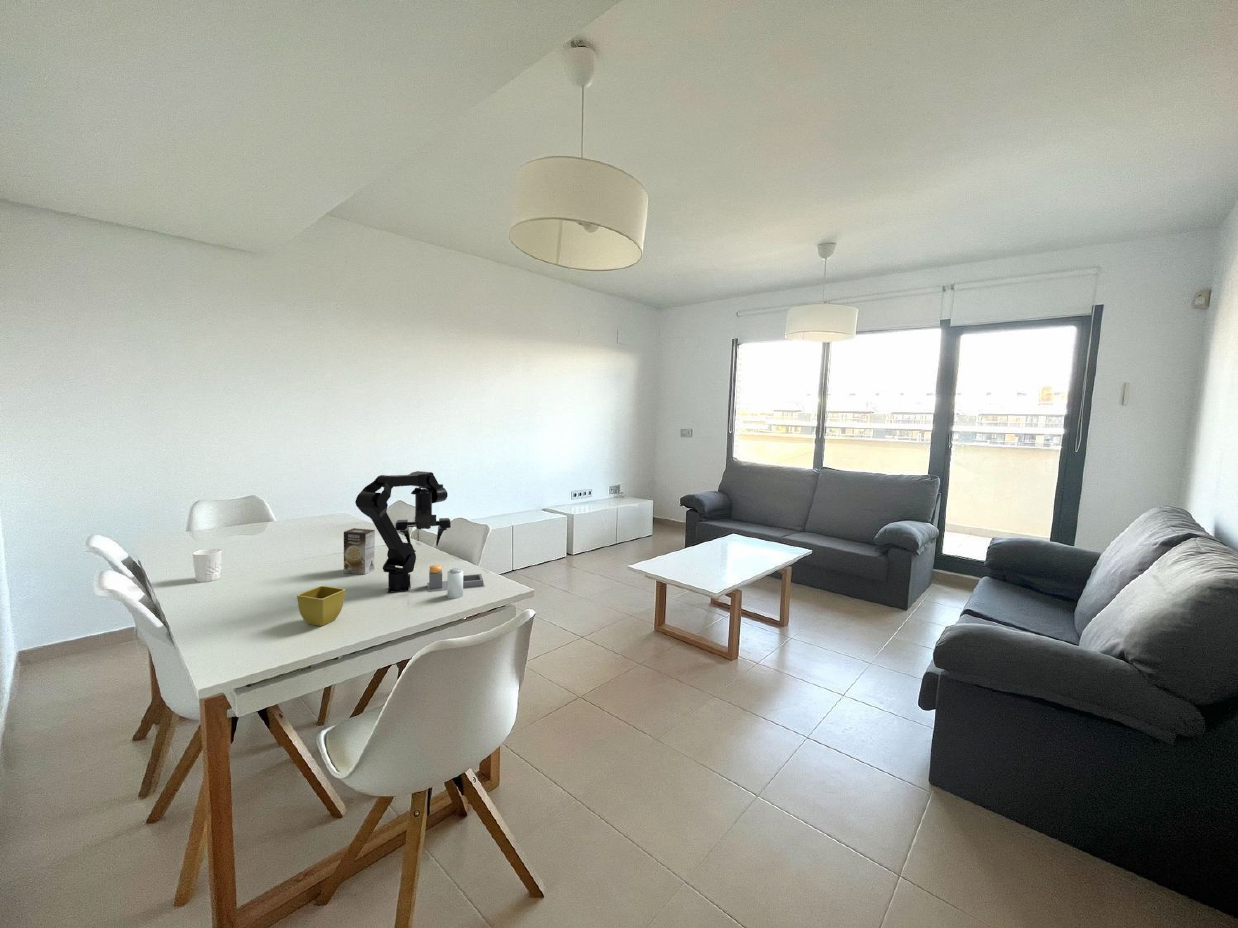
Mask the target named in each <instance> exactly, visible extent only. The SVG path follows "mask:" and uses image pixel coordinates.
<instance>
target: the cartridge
mask: <svg viewBox="0 0 1238 928" xmlns="http://www.w3.org/2000/svg"><path fill="white" fill-rule="evenodd" d="M463 575H464V570H463V569H461V568H451V569H449V570H448V571H447V580H446V581H447V590H446V591H447V592H446V594H447V595H446V597H447V598H448V599H451V600H452V599H454V600H455V599H460V598H462V597H463V596H464V589H463Z"/></svg>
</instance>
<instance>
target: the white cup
mask: <svg viewBox="0 0 1238 928" xmlns="http://www.w3.org/2000/svg"><path fill="white" fill-rule="evenodd" d="M192 560H193V568H194V575H195V581H196V582H198V583H208V582H213V581H217V580H219V578H220V579H221V577H222V565H223V550H222V549H220V548H209V549H208V548H206V549H201V550H197V551H194V552H192Z"/></svg>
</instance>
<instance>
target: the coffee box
mask: <svg viewBox="0 0 1238 928" xmlns="http://www.w3.org/2000/svg"><path fill="white" fill-rule="evenodd" d="M375 532H376V531H375V529H368V528H358V527H357V528H356V527H353V528H351V529H348V530H344V531H343V573H345V574H355V575H357V574H358V575H366V574H368V573H371V572H372V571H375V569H376V568H375V564H376V563H375V556H376V555H375V550H376V548H375V547H376V545H375V540H376V539H375V537H376V536H375V535H376V534H375Z"/></svg>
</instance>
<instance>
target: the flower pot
mask: <svg viewBox="0 0 1238 928" xmlns="http://www.w3.org/2000/svg"><path fill="white" fill-rule="evenodd" d="M345 595H346V589H345V588H340V587H333V586H328V585H327V586H326V585H320V586H317V587H315V588H312V589H309V590H307V591H305V592H301V593H299V594H297V595H296V599H297V605H298V606H297V607H298V611H299V613H300V616H301V618H302V619H303V621H304V622H306V623H307V625H313V626H319V627H323V626H325V625H327V624H330V623H331V622H334V621H335V620H336V619H338V616H339V615H340V614H341V611H342V609H343V608H344V607H343V606H344V602H345Z"/></svg>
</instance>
